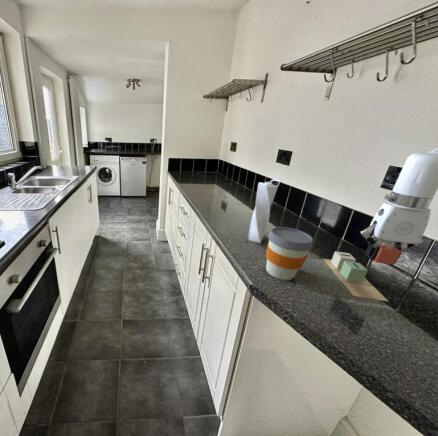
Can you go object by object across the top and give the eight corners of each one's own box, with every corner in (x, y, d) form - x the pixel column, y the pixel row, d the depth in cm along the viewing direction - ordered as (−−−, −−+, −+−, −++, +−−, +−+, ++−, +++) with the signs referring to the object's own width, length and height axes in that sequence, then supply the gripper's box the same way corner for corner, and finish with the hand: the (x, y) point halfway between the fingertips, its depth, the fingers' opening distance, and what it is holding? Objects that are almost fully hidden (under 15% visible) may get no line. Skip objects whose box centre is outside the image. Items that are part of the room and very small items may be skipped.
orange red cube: (383, 256, 70) (390, 243, 69) (394, 265, 66) (401, 250, 64) (365, 254, 71) (372, 241, 70) (375, 262, 67) (382, 248, 65)
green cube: (354, 274, 81) (359, 263, 79) (362, 282, 77) (368, 270, 75) (339, 272, 82) (344, 260, 80) (346, 279, 78) (351, 268, 76)
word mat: (348, 264, 89) (349, 262, 88) (387, 303, 69) (389, 301, 68) (321, 260, 90) (322, 258, 90) (352, 297, 71) (353, 295, 70)
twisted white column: (266, 239, 106) (281, 178, 96) (263, 245, 100) (279, 182, 90) (248, 234, 110) (261, 176, 100) (244, 240, 104) (258, 179, 94)
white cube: (344, 263, 87) (349, 253, 85) (351, 270, 83) (356, 259, 81) (330, 261, 88) (335, 251, 86) (336, 268, 84) (341, 257, 82)
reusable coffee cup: (268, 258, 90) (278, 223, 84) (305, 273, 82) (318, 235, 76) (254, 270, 82) (264, 233, 77) (293, 288, 74) (307, 247, 68)
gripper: (380, 201, 60) (353, 260, 67) (462, 209, 57) (425, 271, 64) (363, 193, 67) (340, 248, 74) (435, 200, 63) (404, 257, 70)
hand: (380, 258), depth 69 cm, fingers closed on orange red cube, 4 cm apart
